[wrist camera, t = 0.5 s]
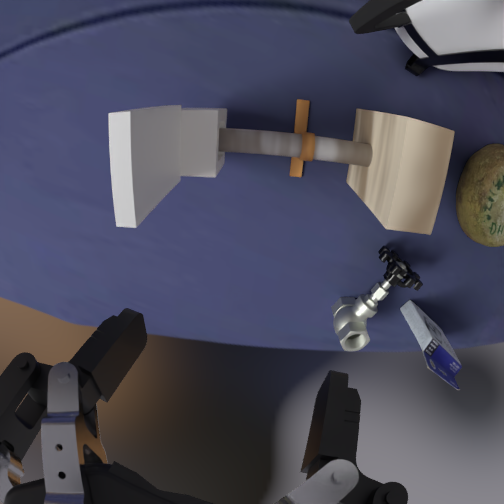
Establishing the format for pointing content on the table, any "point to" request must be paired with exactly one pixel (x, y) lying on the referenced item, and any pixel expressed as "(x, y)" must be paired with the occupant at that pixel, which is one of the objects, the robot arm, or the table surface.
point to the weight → (483, 196)
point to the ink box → (432, 343)
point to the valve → (370, 302)
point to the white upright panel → (160, 154)
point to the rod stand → (368, 161)
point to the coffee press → (441, 31)
